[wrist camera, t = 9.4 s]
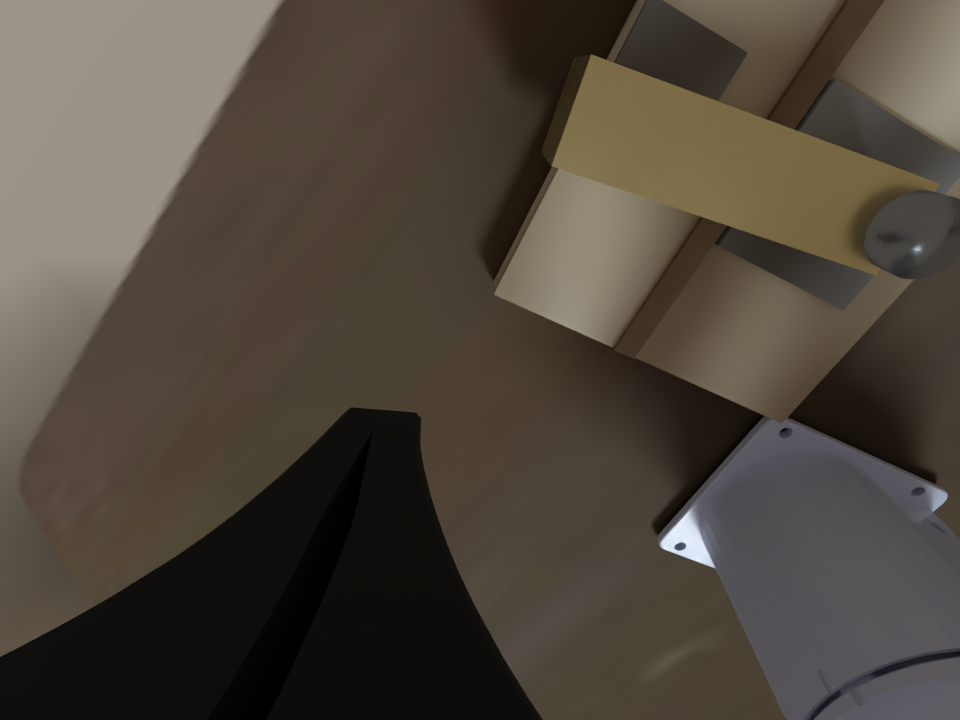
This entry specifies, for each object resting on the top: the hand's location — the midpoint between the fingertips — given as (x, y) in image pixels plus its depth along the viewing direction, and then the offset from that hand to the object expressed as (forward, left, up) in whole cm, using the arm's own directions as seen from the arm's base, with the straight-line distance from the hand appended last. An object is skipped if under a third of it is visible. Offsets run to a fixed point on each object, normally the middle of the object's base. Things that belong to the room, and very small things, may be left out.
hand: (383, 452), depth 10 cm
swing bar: (-6, -7, -8) cm, 12 cm away
